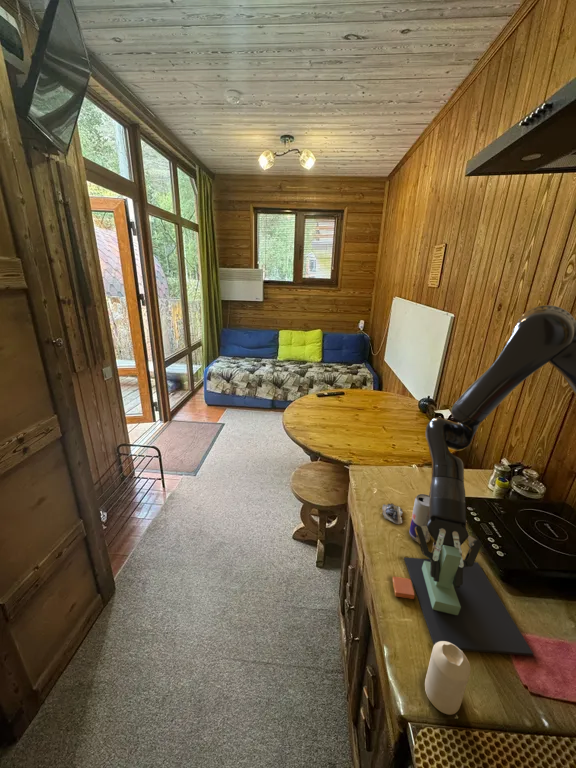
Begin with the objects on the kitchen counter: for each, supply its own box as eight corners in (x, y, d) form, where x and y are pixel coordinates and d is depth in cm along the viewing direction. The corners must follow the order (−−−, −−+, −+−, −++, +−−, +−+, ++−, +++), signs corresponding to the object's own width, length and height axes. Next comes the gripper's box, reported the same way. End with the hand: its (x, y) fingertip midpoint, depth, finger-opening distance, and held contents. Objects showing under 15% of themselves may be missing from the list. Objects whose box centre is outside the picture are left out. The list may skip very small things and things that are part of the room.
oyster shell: (397, 504, 97) (398, 499, 96) (410, 523, 89) (411, 518, 89) (377, 506, 96) (378, 501, 95) (388, 525, 89) (389, 519, 88)
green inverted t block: (443, 574, 73) (456, 535, 69) (457, 617, 64) (473, 574, 60) (421, 569, 74) (433, 530, 70) (432, 611, 64) (446, 568, 60)
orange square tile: (409, 582, 71) (410, 578, 71) (414, 599, 68) (414, 595, 67) (392, 580, 72) (392, 576, 72) (395, 596, 68) (395, 592, 68)
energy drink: (411, 526, 88) (417, 491, 85) (431, 533, 86) (438, 497, 82) (407, 538, 84) (413, 502, 80) (428, 547, 81) (436, 509, 78)
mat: (477, 564, 77) (477, 562, 76) (533, 656, 58) (533, 654, 57) (403, 559, 78) (404, 557, 77) (434, 648, 59) (435, 645, 58)
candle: (449, 724, 48) (461, 683, 45) (417, 688, 53) (427, 648, 50) (466, 698, 51) (478, 658, 48) (435, 666, 56) (444, 627, 53)
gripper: (417, 491, 71) (413, 575, 64) (486, 504, 67) (490, 596, 60) (412, 496, 77) (408, 573, 70) (475, 508, 74) (478, 592, 66)
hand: (446, 583), depth 65 cm, fingers closed on green inverted t block, 3 cm apart
